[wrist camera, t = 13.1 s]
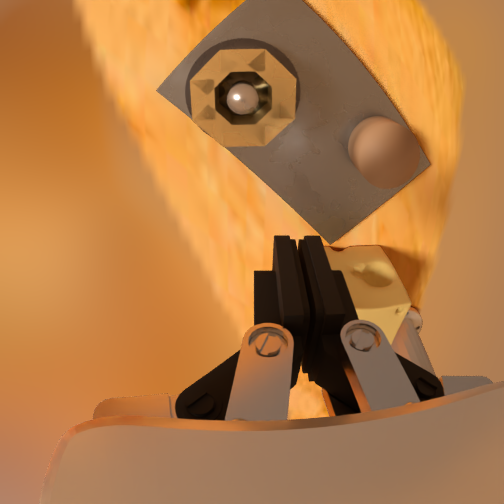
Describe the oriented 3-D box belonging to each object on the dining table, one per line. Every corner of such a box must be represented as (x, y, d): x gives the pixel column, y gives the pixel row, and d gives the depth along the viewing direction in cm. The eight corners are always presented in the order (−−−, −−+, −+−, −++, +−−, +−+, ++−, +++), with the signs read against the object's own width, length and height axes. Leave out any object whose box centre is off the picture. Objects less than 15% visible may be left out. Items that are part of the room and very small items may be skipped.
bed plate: (424, 160, 27) (430, 164, 26) (327, 238, 33) (330, 244, 32) (273, -20, 17) (275, -23, 16) (159, 89, 23) (156, 90, 22)
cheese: (296, 243, 33) (312, 311, 25) (385, 241, 34) (419, 302, 25) (289, 308, 40) (299, 373, 32) (366, 303, 40) (387, 363, 32)
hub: (316, 90, 23) (340, 103, 18) (243, 155, 27) (244, 188, 21) (242, 20, 20) (241, 7, 14) (169, 93, 23) (145, 107, 17)
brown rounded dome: (409, 147, 26) (430, 162, 23) (366, 182, 29) (382, 201, 25) (377, 101, 24) (397, 110, 20) (331, 139, 26) (345, 153, 23)
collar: (289, 51, 19) (296, 50, 16) (287, 134, 23) (293, 146, 21) (196, 52, 19) (188, 52, 16) (200, 135, 23) (194, 148, 20)
